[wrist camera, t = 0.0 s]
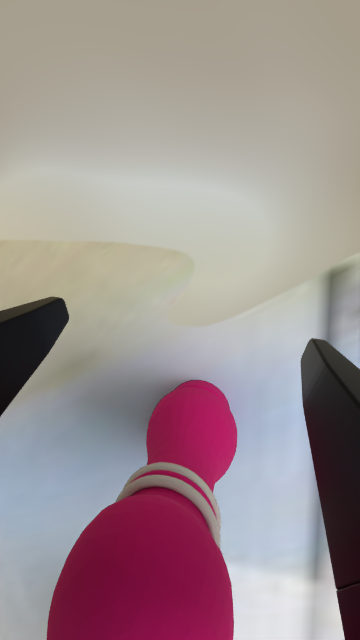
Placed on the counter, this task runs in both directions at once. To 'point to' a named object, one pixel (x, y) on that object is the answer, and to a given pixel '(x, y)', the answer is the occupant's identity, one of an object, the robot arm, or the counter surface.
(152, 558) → the pepper mill
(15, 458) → the counter surface
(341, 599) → the robot arm
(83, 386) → the counter surface
